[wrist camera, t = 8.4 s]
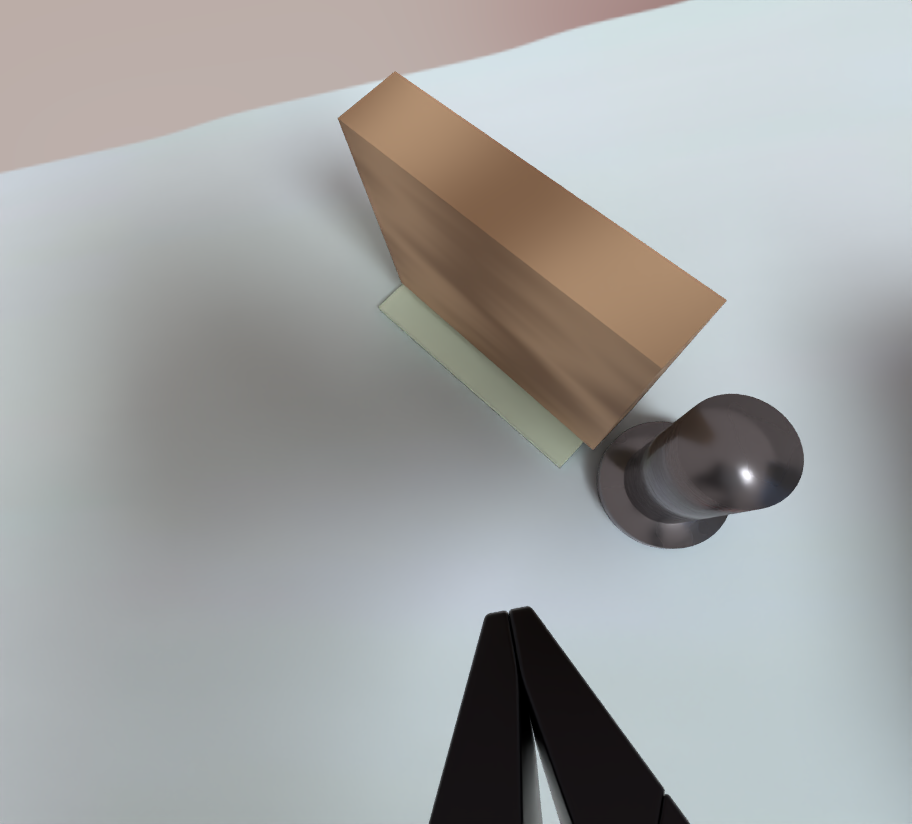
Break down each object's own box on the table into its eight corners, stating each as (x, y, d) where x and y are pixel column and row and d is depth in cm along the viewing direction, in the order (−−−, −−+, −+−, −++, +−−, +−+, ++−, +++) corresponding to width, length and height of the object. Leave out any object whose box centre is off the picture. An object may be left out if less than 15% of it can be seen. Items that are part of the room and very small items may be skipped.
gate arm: (630, 410, 16) (726, 300, 9) (592, 450, 16) (662, 368, 9) (436, 250, 19) (395, 71, 12) (401, 282, 19) (337, 118, 12)
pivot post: (696, 572, 16) (805, 584, 10) (576, 509, 17) (613, 487, 11) (743, 460, 17) (866, 412, 11) (627, 406, 18) (684, 336, 12)
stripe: (628, 392, 18) (631, 390, 18) (559, 468, 17) (560, 466, 17) (444, 249, 21) (444, 245, 20) (380, 310, 20) (378, 306, 20)
